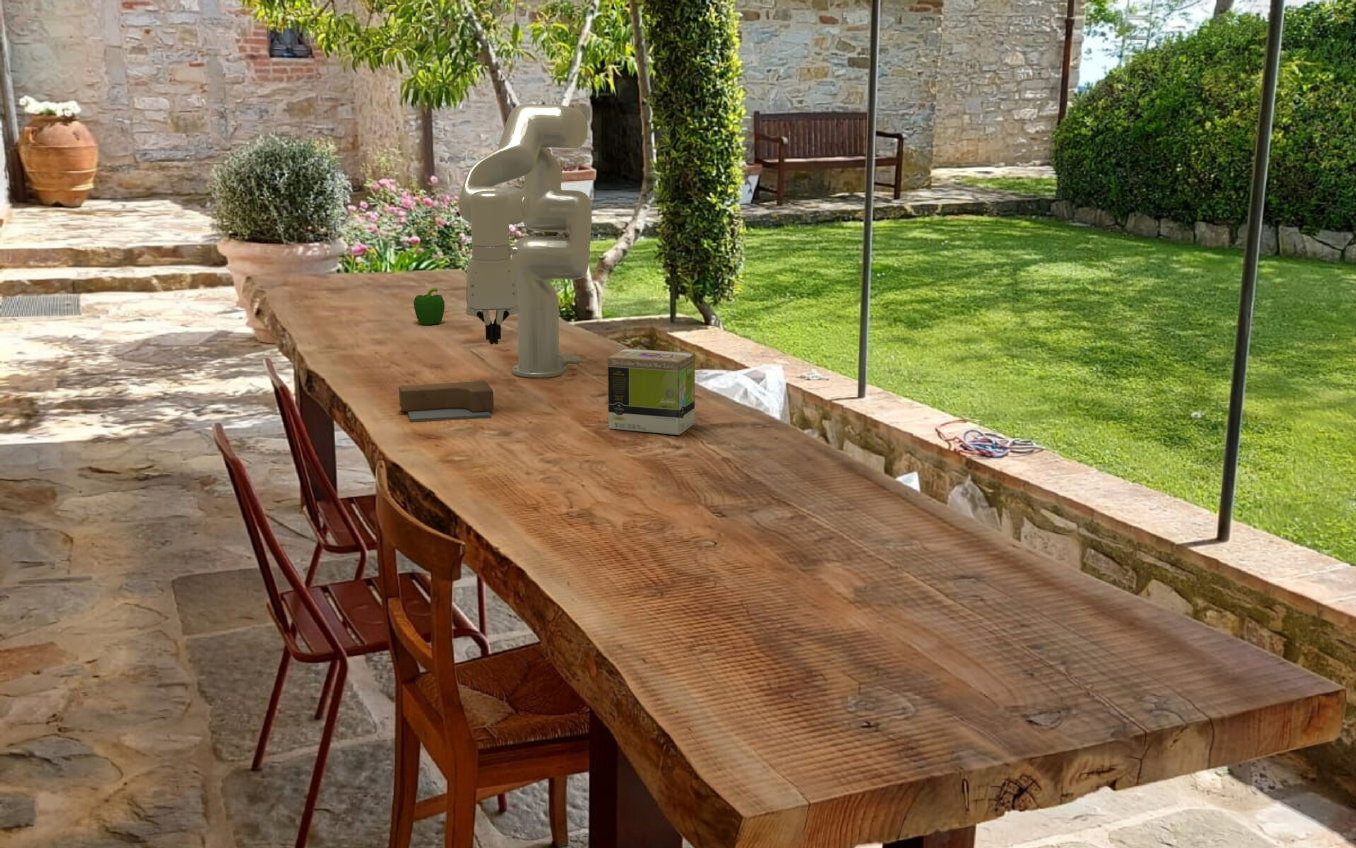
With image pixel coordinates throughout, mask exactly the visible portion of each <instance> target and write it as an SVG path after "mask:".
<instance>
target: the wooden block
mask: <svg viewBox="0 0 1356 848" xmlns="http://www.w3.org/2000/svg"><path fill="white" fill-rule="evenodd" d="M398 393H399V395H398V397H399V399H398V400H399V407H400V409H401V411H402V412H408V411H418V410H433V409H449V408H462V409H469V410H470V411H472V412H486V411H489V412H494V409H495V408H494V407H495V406H494V390H493V389H492V387H491V386H490V385H489V383H488V382H487V381H486V380H479V381H478V380H477V381H462V382H461V381H457V382H446V383H445V382H443V383H429V384H427V383H426V384H411V385H409V384H407V385H400V386H398Z"/></svg>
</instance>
